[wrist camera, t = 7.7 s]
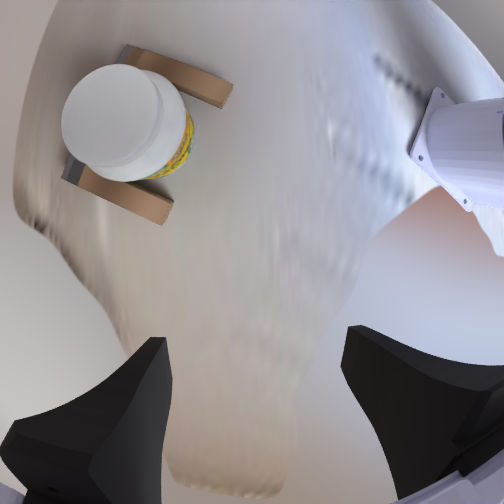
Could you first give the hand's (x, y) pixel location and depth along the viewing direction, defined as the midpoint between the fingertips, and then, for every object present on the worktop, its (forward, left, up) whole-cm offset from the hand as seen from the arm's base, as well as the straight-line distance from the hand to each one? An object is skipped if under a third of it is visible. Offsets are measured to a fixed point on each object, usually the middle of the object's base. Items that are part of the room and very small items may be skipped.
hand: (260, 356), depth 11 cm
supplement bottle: (+9, -6, -11) cm, 15 cm away
